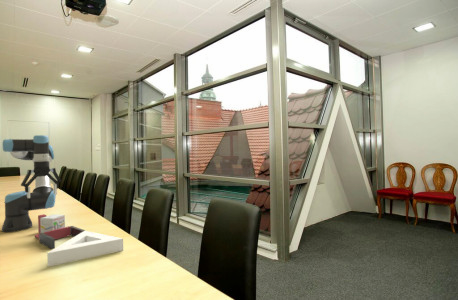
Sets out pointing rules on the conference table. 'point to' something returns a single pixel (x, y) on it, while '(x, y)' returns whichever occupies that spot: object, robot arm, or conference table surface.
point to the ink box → (52, 222)
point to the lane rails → (50, 240)
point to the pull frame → (53, 233)
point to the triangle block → (84, 247)
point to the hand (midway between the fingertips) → (42, 196)
